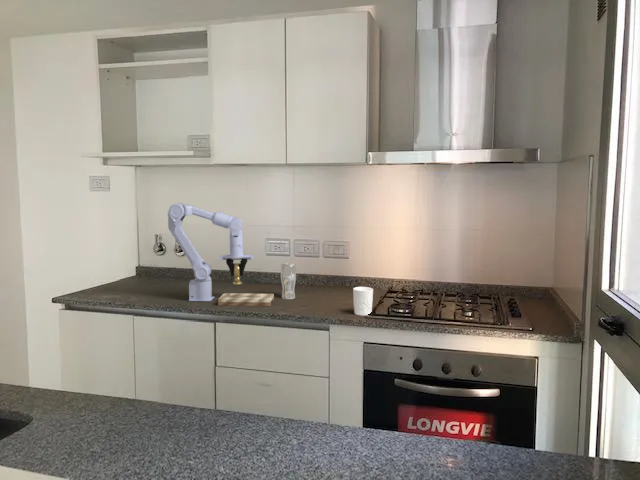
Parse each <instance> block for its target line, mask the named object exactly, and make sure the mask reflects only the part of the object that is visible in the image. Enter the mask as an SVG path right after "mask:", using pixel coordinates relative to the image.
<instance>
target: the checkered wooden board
mask: <svg viewBox="0 0 640 480" xmlns="http://www.w3.org/2000/svg"><path fill="white" fill-rule="evenodd" d="M274 301H275V295H274V293H245V292H244V293H243V292H242V293H240V292H239V293H237V292H236V293H233V292H232V293H231V292H229V293H227V292H225V293H224V292H223V294H221V295H220V297H219V298H217V305H218V306H220V307H221V306H230V307H236V306H237V307H239V306H240V307H271V306H272V302H274Z"/></svg>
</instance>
